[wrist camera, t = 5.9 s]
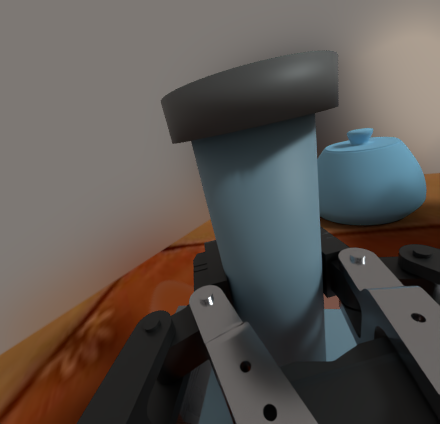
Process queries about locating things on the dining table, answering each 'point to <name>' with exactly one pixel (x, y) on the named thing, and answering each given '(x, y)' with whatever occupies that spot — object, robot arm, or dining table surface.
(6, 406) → the dining table surface
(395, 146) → the sugar bowl
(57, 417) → the dining table surface
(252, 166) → the carriage
